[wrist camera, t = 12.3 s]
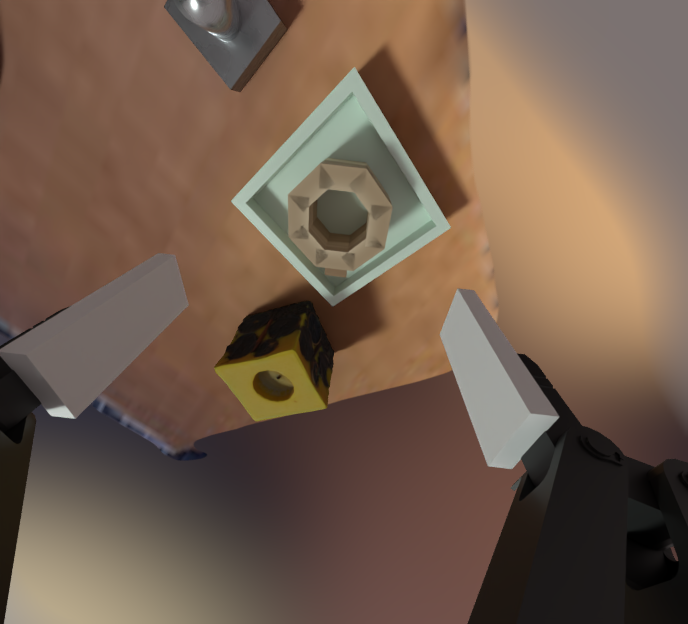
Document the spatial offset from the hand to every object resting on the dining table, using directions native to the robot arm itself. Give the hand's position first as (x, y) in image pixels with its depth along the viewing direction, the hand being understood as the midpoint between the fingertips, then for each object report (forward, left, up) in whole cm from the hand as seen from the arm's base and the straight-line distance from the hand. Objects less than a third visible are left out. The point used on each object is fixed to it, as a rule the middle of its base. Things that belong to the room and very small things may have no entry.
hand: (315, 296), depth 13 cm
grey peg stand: (-16, +2, -19) cm, 24 cm away
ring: (+1, -1, -18) cm, 18 cm away
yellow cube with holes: (+9, -17, -19) cm, 27 cm away
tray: (0, 0, -19) cm, 19 cm away
